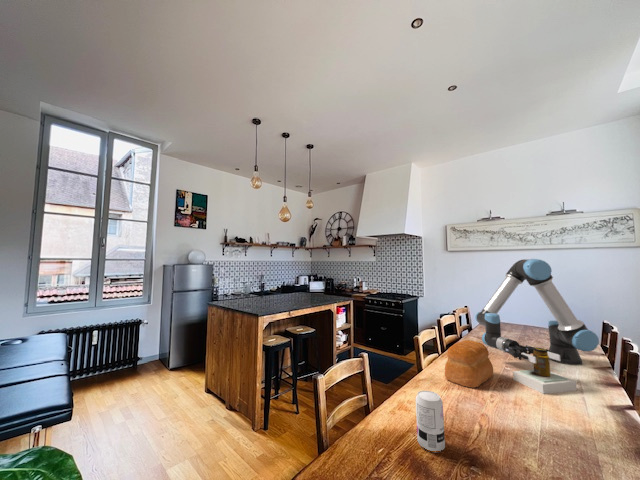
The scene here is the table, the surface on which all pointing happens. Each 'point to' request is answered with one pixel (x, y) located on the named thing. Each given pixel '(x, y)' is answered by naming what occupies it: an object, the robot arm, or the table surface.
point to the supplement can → (430, 421)
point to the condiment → (541, 364)
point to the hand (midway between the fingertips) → (547, 359)
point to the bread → (468, 364)
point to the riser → (545, 382)
